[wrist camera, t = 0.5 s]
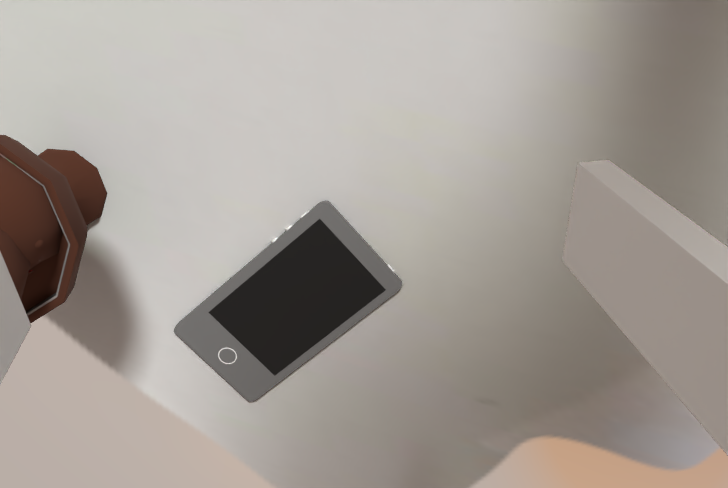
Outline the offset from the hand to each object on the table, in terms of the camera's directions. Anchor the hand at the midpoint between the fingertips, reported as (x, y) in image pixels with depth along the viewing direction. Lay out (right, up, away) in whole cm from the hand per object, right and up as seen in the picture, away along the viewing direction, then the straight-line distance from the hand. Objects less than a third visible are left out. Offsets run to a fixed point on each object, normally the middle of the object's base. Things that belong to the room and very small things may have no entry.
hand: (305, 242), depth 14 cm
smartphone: (-4, -4, +28) cm, 29 cm away
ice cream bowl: (-18, +4, +25) cm, 31 cm away
